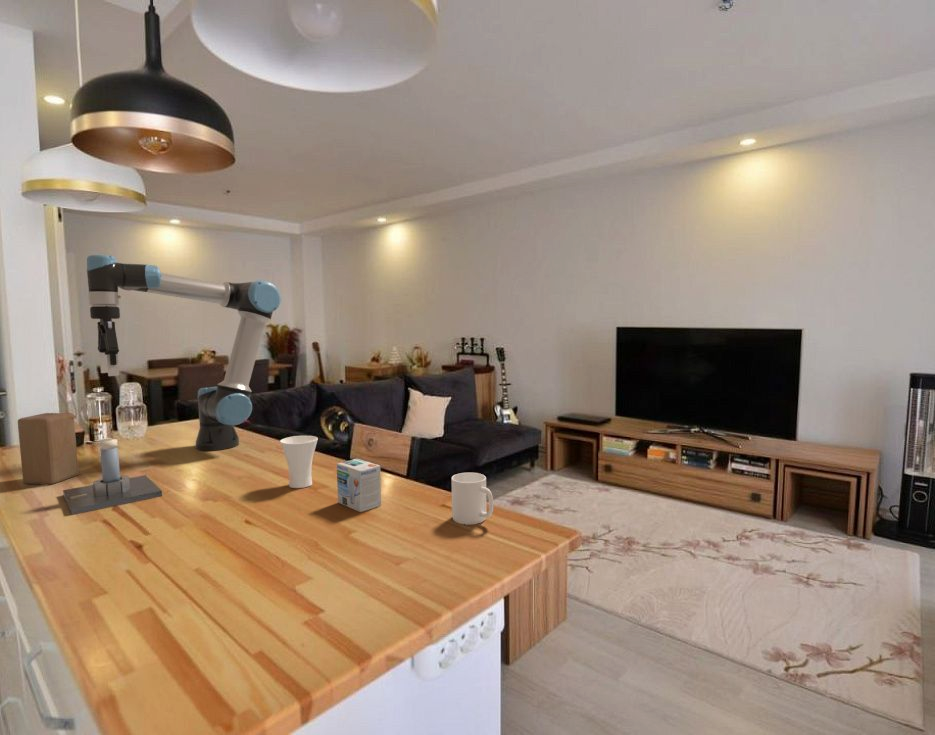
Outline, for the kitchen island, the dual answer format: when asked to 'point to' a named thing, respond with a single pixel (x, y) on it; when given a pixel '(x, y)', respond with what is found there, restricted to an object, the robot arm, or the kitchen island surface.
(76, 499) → the base plate
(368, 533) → the kitchen island surface
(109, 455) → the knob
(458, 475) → the cup
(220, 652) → the kitchen island surface
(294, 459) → the cup
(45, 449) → the wooden block
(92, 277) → the robot arm
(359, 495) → the light bulb box
